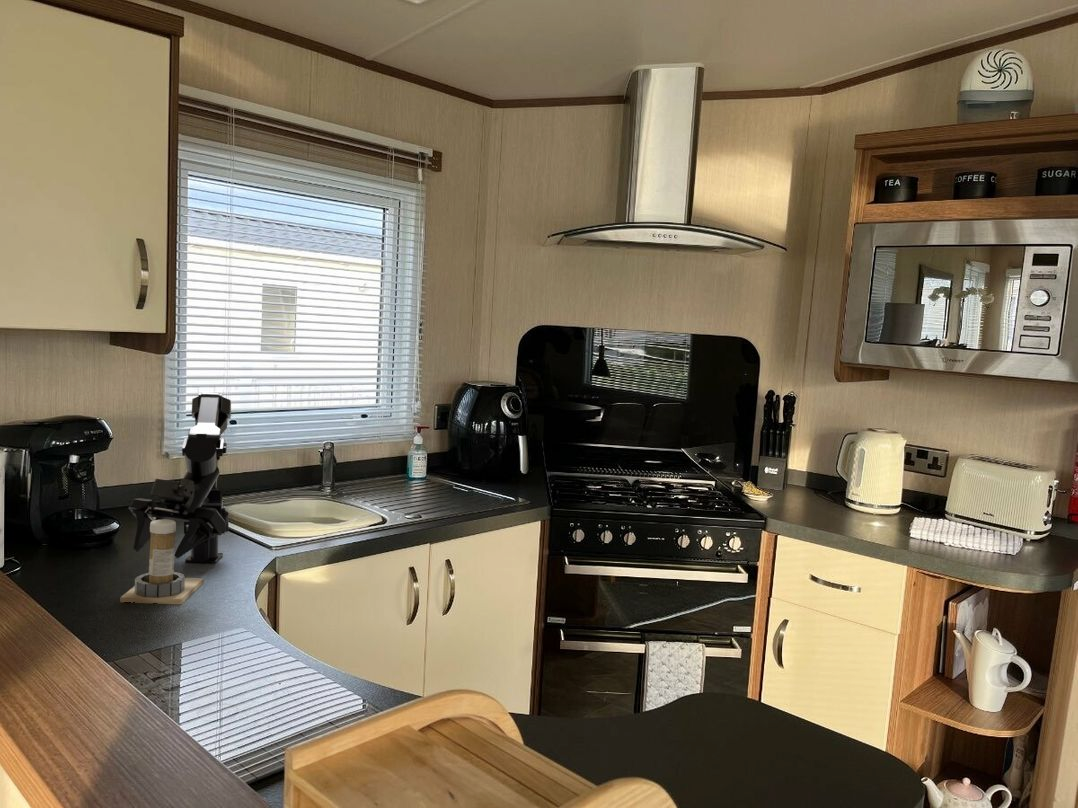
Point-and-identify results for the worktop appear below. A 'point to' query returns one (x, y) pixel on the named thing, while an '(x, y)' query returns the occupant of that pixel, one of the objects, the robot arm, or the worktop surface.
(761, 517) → the worktop surface
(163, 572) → the sprinkles bottle
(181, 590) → the socket ring
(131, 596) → the carrier plate
